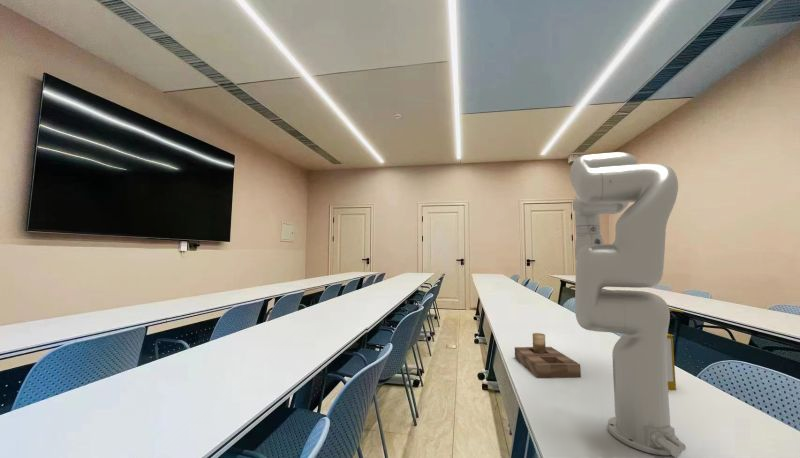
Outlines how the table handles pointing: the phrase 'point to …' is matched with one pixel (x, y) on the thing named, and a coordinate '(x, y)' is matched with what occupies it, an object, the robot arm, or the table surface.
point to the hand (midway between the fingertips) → (590, 283)
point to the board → (548, 363)
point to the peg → (539, 343)
